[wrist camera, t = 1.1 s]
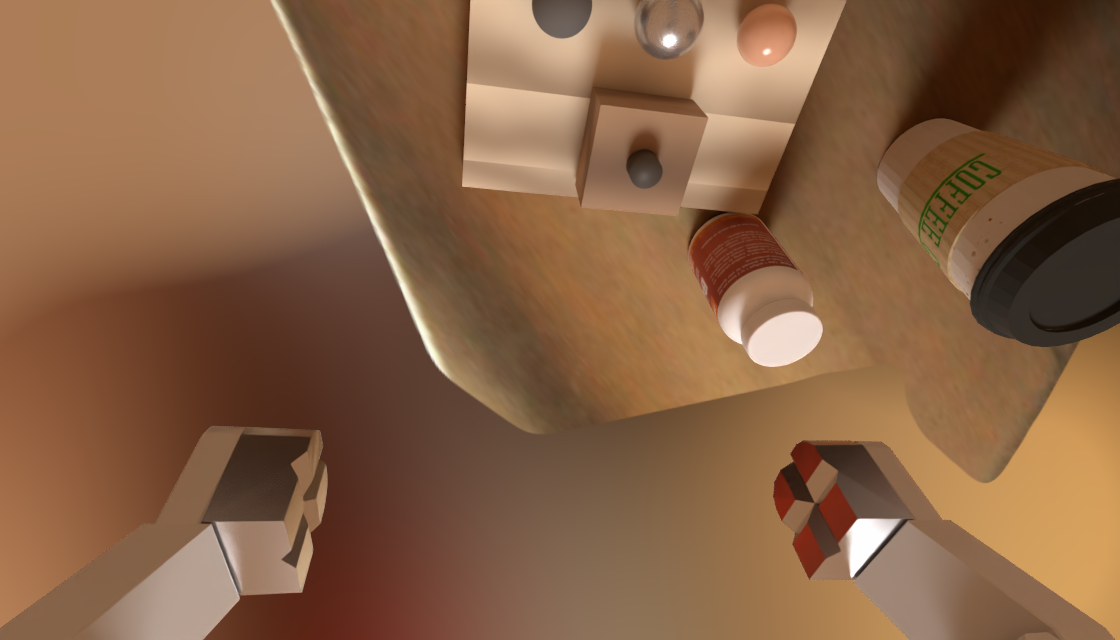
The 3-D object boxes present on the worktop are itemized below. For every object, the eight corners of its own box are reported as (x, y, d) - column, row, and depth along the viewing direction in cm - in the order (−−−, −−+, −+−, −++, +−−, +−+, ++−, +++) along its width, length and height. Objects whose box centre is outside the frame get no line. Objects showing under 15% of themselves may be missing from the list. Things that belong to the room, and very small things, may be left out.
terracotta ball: (740, -6, 29) (761, 5, 27) (791, 2, 30) (817, 14, 28) (721, 54, 31) (739, 70, 29) (770, 61, 32) (792, 77, 29)
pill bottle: (669, 253, 43) (714, 351, 34) (730, 192, 40) (795, 283, 31) (722, 289, 45) (775, 388, 37) (782, 235, 43) (855, 329, 34)
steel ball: (636, -29, 28) (652, -18, 26) (701, -18, 29) (723, -6, 26) (621, 45, 30) (634, 63, 28) (682, 54, 31) (700, 72, 28)
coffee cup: (830, 157, 39) (973, 283, 27) (975, 57, 35) (1209, 152, 24) (877, 245, 44) (1014, 381, 33) (1007, 165, 41) (1212, 286, 29)
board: (482, -260, 24) (482, -271, 22) (887, -168, 28) (917, -170, 26) (463, 169, 37) (462, 186, 35) (744, 197, 40) (757, 214, 38)
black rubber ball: (533, -40, 28) (537, -31, 25) (592, -31, 28) (601, -21, 26) (527, 26, 29) (530, 40, 27) (582, 34, 30) (590, 49, 28)
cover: (592, 86, 31) (604, 112, 28) (692, 99, 32) (715, 125, 29) (575, 184, 35) (583, 217, 32) (665, 193, 36) (682, 226, 33)
